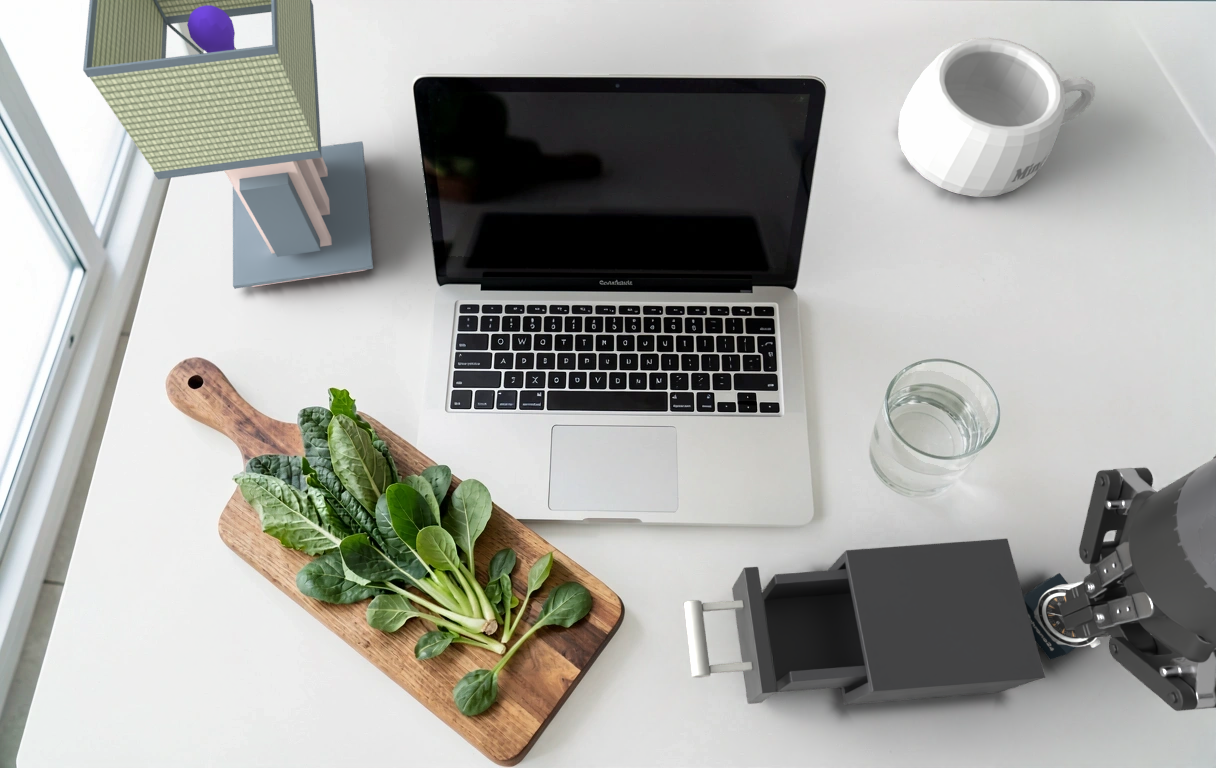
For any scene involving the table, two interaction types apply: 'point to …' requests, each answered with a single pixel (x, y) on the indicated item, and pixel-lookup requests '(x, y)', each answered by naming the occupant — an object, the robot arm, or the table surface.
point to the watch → (1053, 618)
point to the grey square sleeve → (939, 621)
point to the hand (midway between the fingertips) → (1077, 616)
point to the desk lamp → (238, 128)
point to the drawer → (786, 633)
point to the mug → (986, 116)
